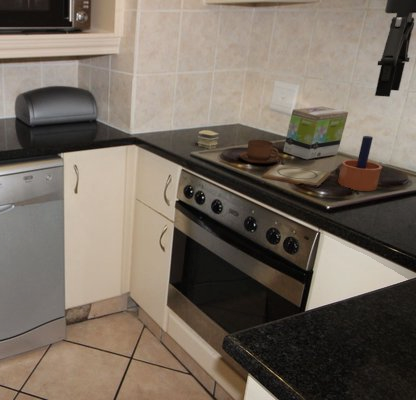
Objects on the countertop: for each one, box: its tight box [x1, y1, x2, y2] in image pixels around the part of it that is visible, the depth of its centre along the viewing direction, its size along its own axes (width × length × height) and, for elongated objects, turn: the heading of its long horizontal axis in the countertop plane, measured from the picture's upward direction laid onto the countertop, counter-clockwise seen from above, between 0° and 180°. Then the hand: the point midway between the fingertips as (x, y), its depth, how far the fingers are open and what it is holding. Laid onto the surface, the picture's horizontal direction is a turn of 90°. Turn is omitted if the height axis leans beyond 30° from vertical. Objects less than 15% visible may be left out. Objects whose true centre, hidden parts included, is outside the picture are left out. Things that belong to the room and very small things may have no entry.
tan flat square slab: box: [261, 163, 332, 186], centre depth 138 cm, size 15×14×1 cm
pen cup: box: [337, 159, 383, 192], centre depth 130 cm, size 9×9×6 cm
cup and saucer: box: [238, 139, 280, 165], centre depth 152 cm, size 12×12×6 cm
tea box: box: [283, 106, 349, 160], centre depth 158 cm, size 15×10×15 cm, turn 117°
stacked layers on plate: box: [197, 129, 220, 150], centre depth 169 cm, size 10×9×6 cm
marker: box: [356, 135, 374, 169], centre depth 128 cm, size 2×2×13 cm
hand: (387, 93), depth 111 cm, fingers open, 13 cm apart
